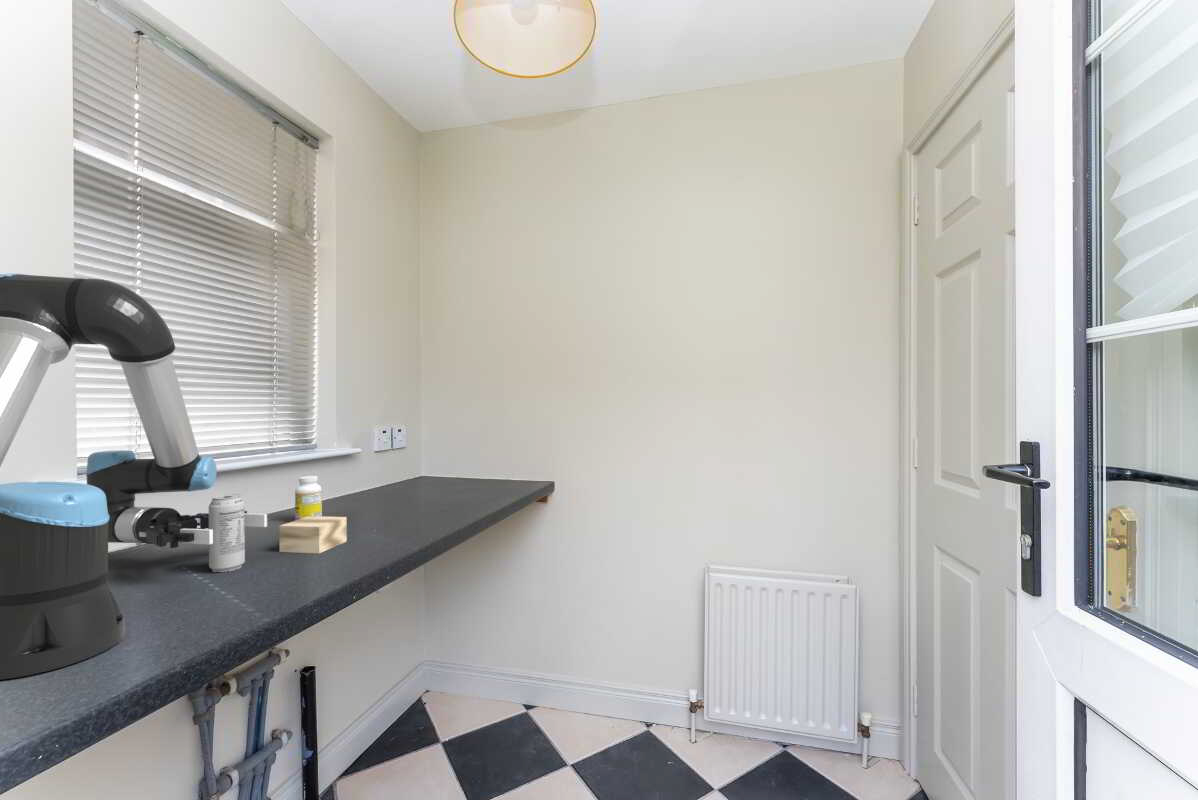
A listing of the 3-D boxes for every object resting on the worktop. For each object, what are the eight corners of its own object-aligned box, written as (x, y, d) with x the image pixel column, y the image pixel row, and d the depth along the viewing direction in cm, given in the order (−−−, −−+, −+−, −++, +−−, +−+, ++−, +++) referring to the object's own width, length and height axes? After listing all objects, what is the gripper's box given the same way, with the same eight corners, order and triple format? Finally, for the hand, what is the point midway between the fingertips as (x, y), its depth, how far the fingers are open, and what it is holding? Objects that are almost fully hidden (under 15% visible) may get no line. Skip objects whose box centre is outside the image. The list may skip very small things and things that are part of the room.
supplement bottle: (296, 520, 150) (296, 476, 150) (322, 518, 153) (322, 474, 153) (294, 525, 144) (293, 479, 144) (321, 522, 147) (320, 477, 147)
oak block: (319, 553, 118) (319, 527, 118) (279, 551, 119) (279, 525, 119) (346, 541, 128) (346, 517, 128) (309, 540, 129) (309, 516, 129)
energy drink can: (237, 562, 112) (236, 492, 112) (250, 567, 108) (249, 495, 108) (204, 570, 107) (203, 497, 107) (216, 575, 103) (215, 500, 103)
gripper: (203, 528, 122) (284, 531, 119) (85, 561, 98) (184, 565, 95) (203, 496, 122) (284, 498, 119) (84, 521, 98) (183, 524, 95)
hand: (240, 528), depth 107 cm, fingers open, 13 cm apart
